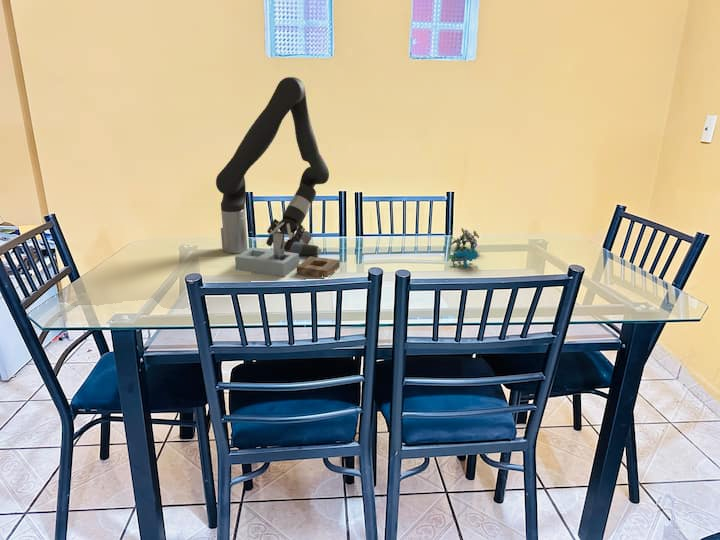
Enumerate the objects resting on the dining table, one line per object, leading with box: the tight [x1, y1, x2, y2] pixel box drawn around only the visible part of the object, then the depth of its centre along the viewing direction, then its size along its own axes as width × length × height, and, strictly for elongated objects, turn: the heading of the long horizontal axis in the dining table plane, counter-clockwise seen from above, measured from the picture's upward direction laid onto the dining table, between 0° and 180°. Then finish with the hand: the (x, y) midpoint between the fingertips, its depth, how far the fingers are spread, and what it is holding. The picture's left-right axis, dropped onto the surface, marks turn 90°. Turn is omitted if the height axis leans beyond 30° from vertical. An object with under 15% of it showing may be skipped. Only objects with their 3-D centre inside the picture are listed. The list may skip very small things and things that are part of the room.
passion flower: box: [450, 227, 480, 252], centre depth 206 cm, size 11×11×12 cm
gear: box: [448, 248, 479, 269], centre depth 189 cm, size 11×6×10 cm
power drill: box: [284, 230, 322, 257], centre depth 205 cm, size 5×19×20 cm
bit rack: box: [234, 246, 300, 278], centre depth 183 cm, size 20×12×5 cm, turn 71°
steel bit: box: [272, 232, 285, 260], centre depth 180 cm, size 4×4×14 cm
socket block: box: [296, 256, 341, 278], centre depth 181 cm, size 12×12×3 cm
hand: (276, 247), depth 179 cm, fingers open, 8 cm apart
